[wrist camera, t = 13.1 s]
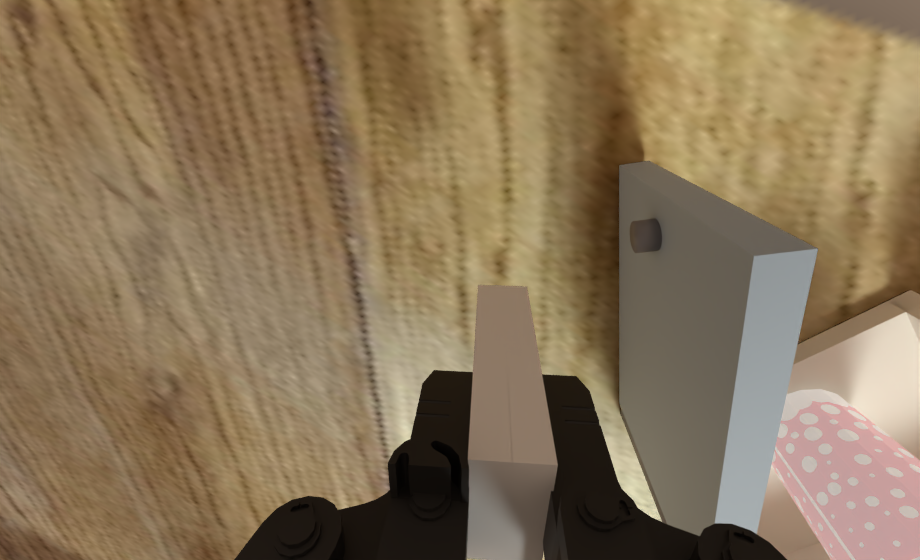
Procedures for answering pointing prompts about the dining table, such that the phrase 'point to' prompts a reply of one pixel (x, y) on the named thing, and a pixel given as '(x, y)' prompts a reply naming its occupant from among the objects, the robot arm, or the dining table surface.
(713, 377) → the door
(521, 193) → the dining table surface
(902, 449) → the beverage cup
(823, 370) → the cubby
